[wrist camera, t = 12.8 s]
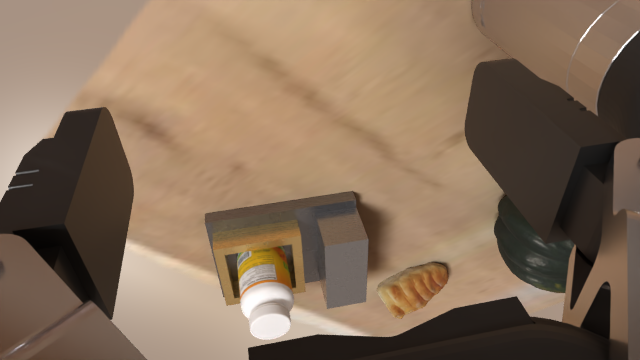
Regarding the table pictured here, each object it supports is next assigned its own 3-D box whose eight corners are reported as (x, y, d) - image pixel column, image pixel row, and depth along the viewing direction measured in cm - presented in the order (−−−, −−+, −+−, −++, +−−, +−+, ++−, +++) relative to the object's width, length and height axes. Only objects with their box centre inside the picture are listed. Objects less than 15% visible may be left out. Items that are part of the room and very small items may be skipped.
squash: (458, 266, 55) (587, 348, 50) (520, 157, 48) (682, 239, 42) (493, 221, 66) (603, 284, 60) (549, 126, 59) (680, 188, 53)
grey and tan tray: (352, 191, 52) (368, 231, 47) (351, 265, 60) (365, 307, 55) (205, 213, 50) (205, 258, 45) (223, 287, 58) (225, 333, 53)
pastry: (432, 249, 61) (444, 271, 58) (451, 273, 66) (463, 296, 63) (370, 284, 63) (379, 308, 60) (393, 306, 67) (402, 329, 65)
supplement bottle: (286, 267, 56) (299, 339, 48) (239, 274, 55) (245, 348, 47) (283, 233, 52) (297, 305, 45) (234, 240, 51) (239, 314, 44)
